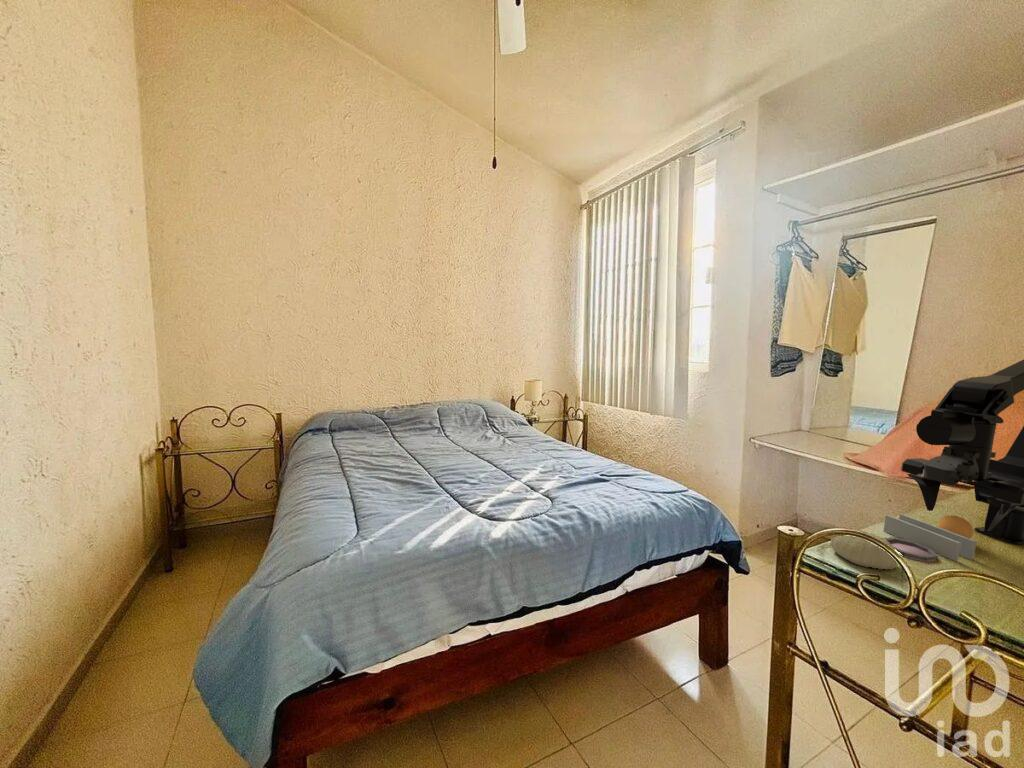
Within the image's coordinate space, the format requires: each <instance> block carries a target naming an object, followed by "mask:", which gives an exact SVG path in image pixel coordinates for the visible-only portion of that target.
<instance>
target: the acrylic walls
mask: <svg viewBox="0 0 1024 768" xmlns="http://www.w3.org/2000/svg"><path fill="white" fill-rule="evenodd" d="M883 532H884V533H887V534H890V535H892V536H893V537H895V538H899V539H904V540H908V541H913V542H916V543H918V544H920V545H923V546H925V547H928V548H930V549H931V550H933V551H934V552H935V553H936V555H940V556H942V557H944V558H947V559H949V560H951V561H954V562H958V561H959V557H960V556H961V557H964V558H966V559H969V560H973V561H974V560H975V559H974V558H975V553H976V548H977V542H978V541H977V540H973V539H972V538H970V539H969V538H966V537H963V536H961V535H958V534H955V533H953V532H950V531H947V530H945V529H942V528H939V527H938V526H936V525H935V524H931V523H928V522H925V521H923V520H920V519H917V518H915V517H913V516H909V515H907V514H904V513H900V514H899V518H897V517H894V516H892V515H889V514H885V518H884V524H883Z"/></svg>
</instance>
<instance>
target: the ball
mask: <svg viewBox="0 0 1024 768" xmlns="http://www.w3.org/2000/svg"><path fill="white" fill-rule="evenodd" d="M937 527H939V528H942V529H945V530H947V531H950V532H953V533H955V534H958V535H961V536H963V537H966V538H969V539H972V538H973V536H974V533H975V532H974V531H975V530H974V527H973V525H972V524H971V523H970V522H969V521H968V520H966V519H965V518H963V517H962V516H958V515H946V516H943V517H942V518H940V519H939V520H938V521H937Z"/></svg>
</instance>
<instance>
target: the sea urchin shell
mask: <svg viewBox="0 0 1024 768" xmlns="http://www.w3.org/2000/svg"><path fill="white" fill-rule="evenodd" d="M847 530H857V531H860V532H862V533H864V534H868V535H871V536H873V537H875V538H877V539H879V540H881V541H883V542H884V543H886V544H887V545H889V546H890V547H892V548H893V549H895V548H894V547H893V545H892V544H890V542H888V541H887V540H886V539H884V538H885V537H881V536H879V535H876V534H874V533H871V532H868V531H865V530H862V529H861V530H860V529H857V528H855V529H854V528H852V529H851V528H849V529H847ZM832 537H833V536H832ZM832 537H831V538H830V545H831V548H832V550H833V551H834V552H835V553H837V554H838V555H839V557H840V556H841V557H842V558H844V559H845V560H846V561H849V562H850V563H853V564H854V563H855V565H857V564H858V565H857V566H860V565H861V566H860V567H865V568H868V567H872V569H876V568H878V569H877V570H883V569H890V570H893V569H895V568H896V567H897V566H898V564H897V563H896V561H895V560H894V559H893V558H892V557H891V556H890V555H889V554H888V553H887V552H886V551H884V550H883V549H881V548H879V547H878V546H875V545H873V544H871V543H870V542H868V541H866V540H864V539H862V538H859V537H853V536H836V537H833V538H832Z"/></svg>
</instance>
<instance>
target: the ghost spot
mask: <svg viewBox="0 0 1024 768" xmlns="http://www.w3.org/2000/svg"><path fill="white" fill-rule="evenodd" d="M883 538H884V539H886V540H887V541H888V542H890V544H892V545H893V547H894V548H895V549H896V550H897V551H898V552H900V553H901V554H902V555H903V556H904V557H903V556H902V557H903V558H908V559H910V560H915V561H920V562H925V563H926V562H928V563H929V562H930V563H931V562H932V563H933V562H936V561H937V560H938V554H937V553H935V552H934V551H933V550H931V549H930V548H928V547H925V546H923V545H920V544H918V543H916V542H913V541H908V540H904V539H901V538H899V537H896V536H893V537H892V536H891V537H883Z"/></svg>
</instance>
